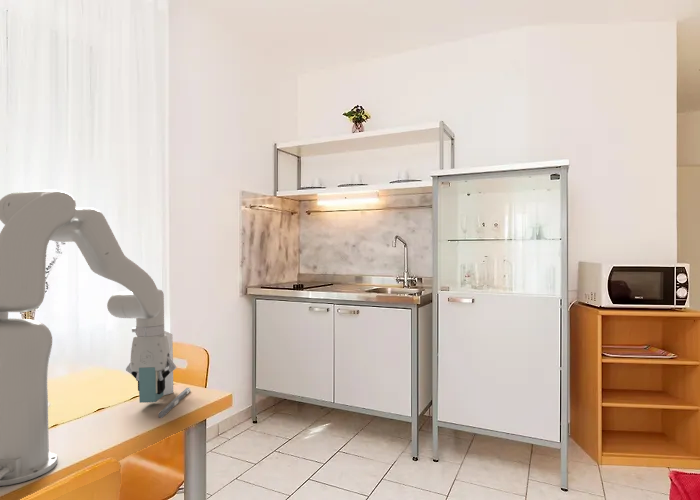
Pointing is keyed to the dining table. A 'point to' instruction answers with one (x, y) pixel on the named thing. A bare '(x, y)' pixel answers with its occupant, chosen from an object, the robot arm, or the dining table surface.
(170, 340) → the milk
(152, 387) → the tea tin
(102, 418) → the dining table surface
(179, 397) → the rail
